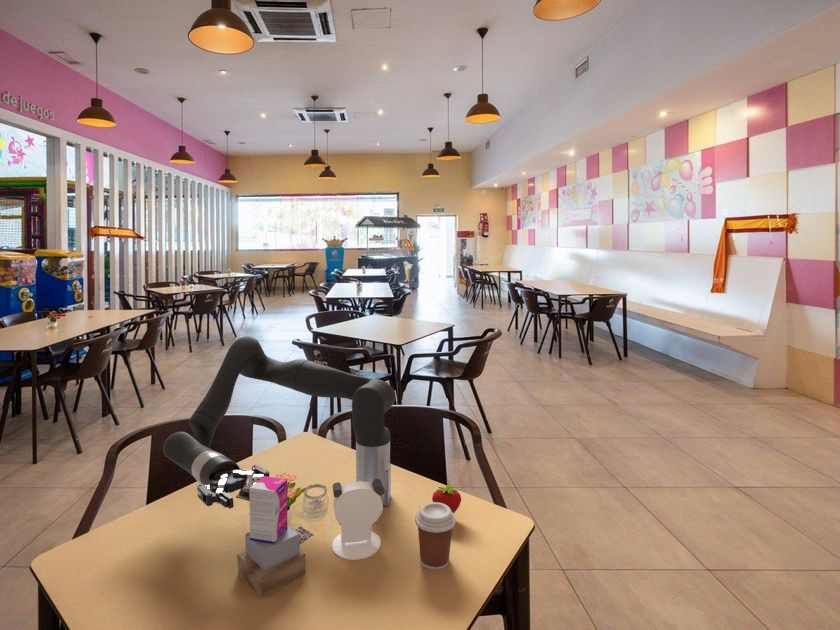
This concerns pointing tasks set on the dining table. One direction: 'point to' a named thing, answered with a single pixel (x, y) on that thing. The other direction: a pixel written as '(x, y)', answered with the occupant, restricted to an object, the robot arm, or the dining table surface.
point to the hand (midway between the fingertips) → (251, 495)
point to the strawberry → (447, 497)
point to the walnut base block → (270, 573)
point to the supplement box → (268, 509)
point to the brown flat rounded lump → (245, 493)
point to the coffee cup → (435, 534)
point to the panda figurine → (357, 518)
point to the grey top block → (273, 549)
